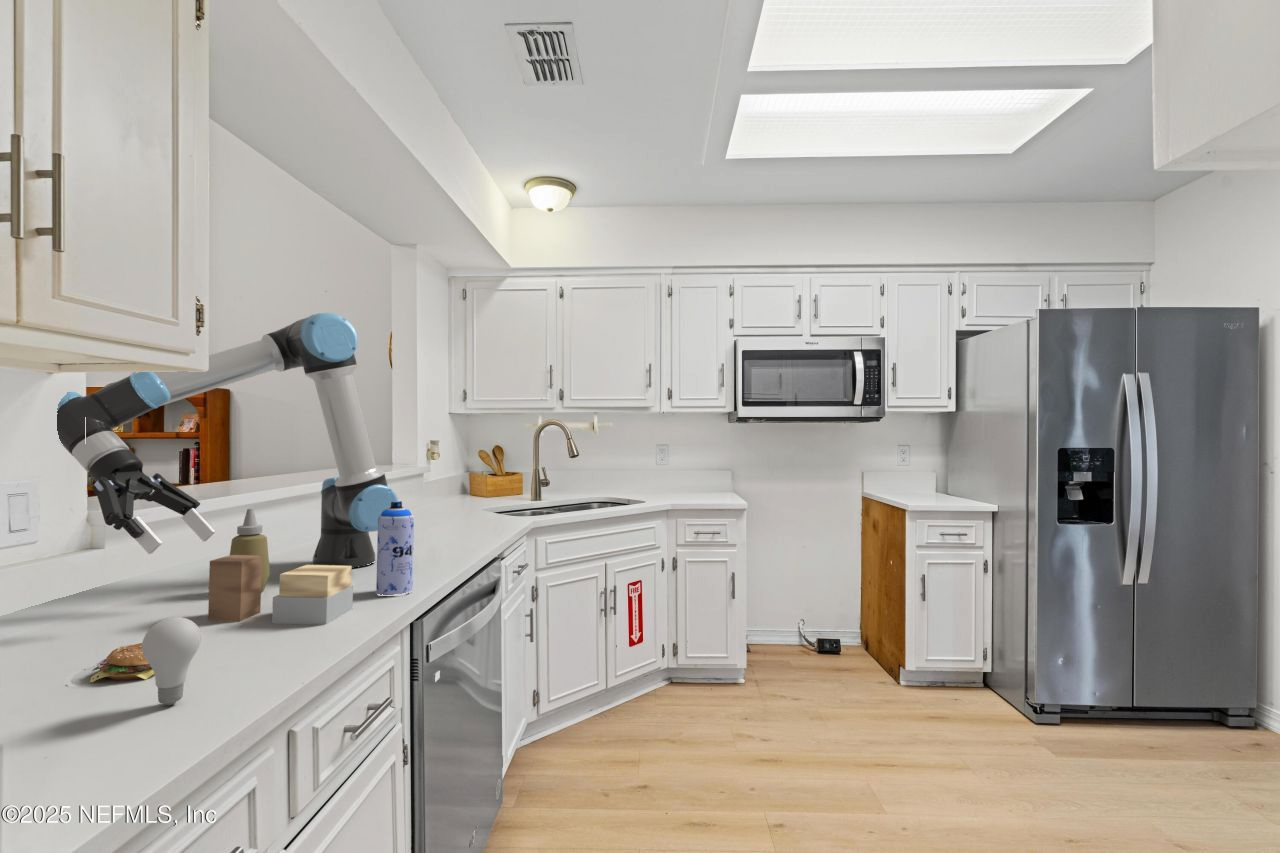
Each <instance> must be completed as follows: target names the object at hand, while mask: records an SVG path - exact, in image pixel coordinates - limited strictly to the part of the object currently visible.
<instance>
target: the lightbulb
mask: <svg viewBox="0 0 1280 853" xmlns="http://www.w3.org/2000/svg"><path fill="white" fill-rule="evenodd" d="M201 641H202V633H201V630H200V627H199V626H198V625H197V624H196V623H195V622H194V621H193V620H191V619H189V618H185V617H181V616H177V617H175V616H173V617H169V618H165V619H162V620H160V621H158V622H156V623H155V624H154V625H152V627H150V628H149V630H147V632H146V633H145V635H144V637H143V639H142V642H141V643H142V652H143V655H144V657H145V658H146V660H147V662H148V663H149V664H150V666H151V667H152V669H153V672H154V675H153V676H154V679H155V686H156V687H157V697H158V698H157V699H158V700H157V701H158V703H160V704H163V705H165V706H167V707H168V706H172V705H173V706H174V705H175V704H176V703H177V702H178V701H180V700H181V699H182V698H183V695H184V686H185V682H186V681H187V675H188V674H187V673H188V671H189V666H190V665H191V662H192V660H193V658H194V657H195V655H196V653H197V652H198V650H199V648H200V646H201V643H202V642H201Z"/></svg>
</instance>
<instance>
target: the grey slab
mask: <svg viewBox="0 0 1280 853" xmlns="http://www.w3.org/2000/svg"><path fill="white" fill-rule="evenodd" d="M353 593H354V585H351V586H350V587H348V588H346V589H344V590H342V591H340V592H338V593H336V594H334V595H332V596H329V597H291V596H279V594H277V595H275V596H273V597H272V614H271V615H272V617H271V623H272V624H282V625H285V624H287V625H288V624H289V625H322V624H327V625H328V624H330V623H331V621H332V622H333V620H334V621H335V620H337V619H338V617H339V618H341V617H342V616H344V615H346V614H347V613H346V612H348V611H349V612H351V611H352V610H353V601H354V600H353V596H354V595H353ZM351 609H352V610H351ZM350 610H351V611H350ZM349 612H348V613H349ZM345 613H346V614H345ZM343 614H344V615H343ZM341 615H342V616H341ZM340 616H341V617H340ZM329 622H330V623H329Z"/></svg>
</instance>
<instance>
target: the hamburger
mask: <svg viewBox="0 0 1280 853" xmlns="http://www.w3.org/2000/svg"><path fill="white" fill-rule="evenodd" d="M97 670H98V671H97ZM91 671H92V672H95V671H97V673H95V674H93V675H92V676H91V677H90V680H89V683H90V682H92V683H93V682H95V681H97V680H99V679H102V678H109V679H111V680H114V679H116V680H115V681H129V680H130V681H131V679H132V680H139V679H143V680H148V679H149V678H151V677H152V676H155V675H154V672H153V669H152V667H151V666H150V664H149V663H148V662H147V660H146V658H145V657H144V655H143V652H142V642H140V643H136V644H130V645H122V646H119V647H117V648H115V649H113V650H112V651H111V652H110V653H109V654H108V655H107V656H106V658H103V659H102V660H101V661H99V662H98V665H97V666H95V668H93V669H92V670H91Z"/></svg>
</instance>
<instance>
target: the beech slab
mask: <svg viewBox="0 0 1280 853" xmlns="http://www.w3.org/2000/svg"><path fill="white" fill-rule="evenodd" d="M352 569H353V568H352V566H338V565H313V564H305V565H302V566H299V567H296V568H294V569H291V570H287V571H286V572H283V573H280V574H279V586H278V588H279V589H278V590H279V591H278V595H279V596H291V597H329V596H332V595H334V594H336V593H338V592H340V591H342V590H344V589H346V588H348V587H350V586H352V573H353V572H352Z"/></svg>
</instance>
